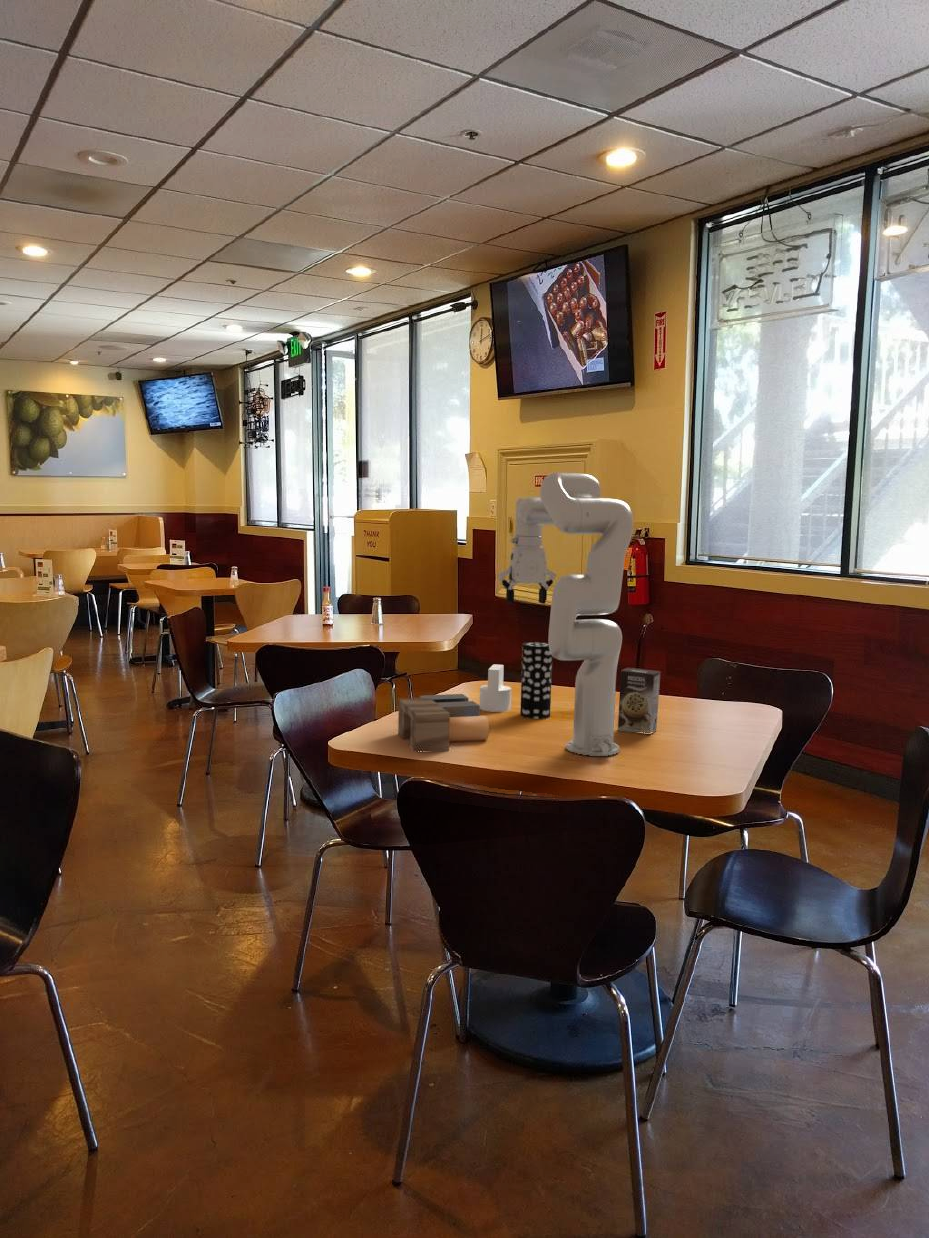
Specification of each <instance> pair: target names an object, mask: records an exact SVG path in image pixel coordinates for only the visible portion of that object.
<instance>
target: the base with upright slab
mask: <svg viewBox="0 0 929 1238" xmlns="http://www.w3.org/2000/svg"><path fill="white" fill-rule="evenodd" d="M504 667H505V665H504V664H498V663H497V664H492V665H491V666H490V667H489V668H488V670H487V672H488V673H487V675H488V676H487V684H483V685H481V686H480V687H479V704H478V705H480V710H481V711H484V712H485V711H486V712H492V713H494V712H495V713H497V712H500V713H501V712H509V711H510V710H511V709H512V708H511V706H512V703H511V702H512V686H511V687H510V686H509V685H504V670H505V669H504Z"/></svg>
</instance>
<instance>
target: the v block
mask: <svg viewBox="0 0 929 1238" xmlns="http://www.w3.org/2000/svg"><path fill="white" fill-rule="evenodd" d="M419 698H431V699H432V700H433V701H435V702H436V703H437V704H438V705H440V706H441V707H442V708H443V709H445V710H446V711H447V712H449V713H450V717H468V716H480V710H481V709H480V705H479V704H478V703H476V702H475V701H474V700H471V701H469V697H468V696H466V695H465V694H463V693H452V694H451V693H449V694H426V695H423V694H422V695H420V696H419Z"/></svg>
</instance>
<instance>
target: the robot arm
mask: <svg viewBox="0 0 929 1238" xmlns="http://www.w3.org/2000/svg"><path fill="white" fill-rule="evenodd" d="M601 493H602V488H601V483H600V482H599V481H598V479H597V478H595V477H594V476H593V475H590V474H586V473H578V472H576V473H575V472H552V473H549V474H547V476H545V477H544V478H543V480H542V482H541V483H540V489H539V495H540V496H529V497H520V498H518V499H517V500H516V503H515V525H514V526H515V527H514V528H515V532H514V537H513V538H510V544H513V547H512V549H511V553H510V558H509V567H508V568H507V569H505V570H503V571H500V572H499V573H497V577H498V579H499V582H500V584H502V586H503V587H504V589H506V591H505V592H506V595H505V596H506V597H505V598H506V599H505V600H506V601H507V602H506V603H507V604H509V605H514V604H515V590H514V588H515V586H516V585H517V584H537V585H538V586H539V587H540V588H539V589H538V603H539V604H542V605H545V604H546V601H547V597H548V595H547V594H548V590H549V588H550V587H551V586H552V584H554V580H555V578H556V577H557V573H555V572H554V571H552V570H550V569H548V568H547V567H548V566H547V555H546V549H545V547H543V526H556V528H557V529H558V530H559V532H562V533H563V534H566V535H567V534H568V535H601V536H600V537H599V538H598V540H597V541H596V542H595V543H594V544H593V545H592V546H591V548H590V550H589V552H588V554H587V560H586V569H585V572H584V573H582V574H577V573H576V574H574V573H573V574H565V575H562V576H561V577H559V578H558V579H557V581H556V583H555V584H554V587H553V590H552V597H551V604H550V615H549V625H548V639H547V640H548V642H547V643H548V644H549V650H550V653H551V655H552V658H554V659H556V660H559V661H583V662H582V663H581V665H580V667H579V668H578V670H577V672H576V675H575V684H574V685H575V687H574V707H573V708H574V713H573V732H572V733H573V734H572V735H573V738H572V739H571V740H569V741H567V742H566V750H568V751H569V752H571V753H573V752H574V753H573V754H576V753H577V754H576V755H580V754H582V755H581V756H586V755H589V757H608V755H609V756H614V755H616V753H617V754H618V753H619V752H620V746H619V744H617V743H616V742H614V731H615V730H614V729H615V709H616V708H615V707H616V705H615V704H616V687H617V686H616V685H617V683H616V682H617V672H618V671H617V670H618V665H619V664H618V663H619V658H620V653H621V649H622V645H623V644H622V643H623V634H622V630H621V628H620V626H619V625H618V624H617V623H616V622H614V621H612V620H610V619H603V618H590V619H589V618H587V619H586V618H585V619H577V617H578V616H601V615H603V616H604V615H610V614H613V613H615V612H616V611H617V610H618V608H619V605H620V601H621V593H622V584H623V579H624V578H623V576H624V569H625V560H626V555H627V552H628V549H629V546H630V544H631V543H630V542H631V540H632V537H633V534H634V533H633V532H634V515H633V511H632V509H631V507H630V506H629V505H628V503H627V502H625V501H623V500H621V499H616V498H609V497H601ZM506 576H508V581H507V579H506ZM547 577H548V578H547ZM613 754H614V755H613Z"/></svg>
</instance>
